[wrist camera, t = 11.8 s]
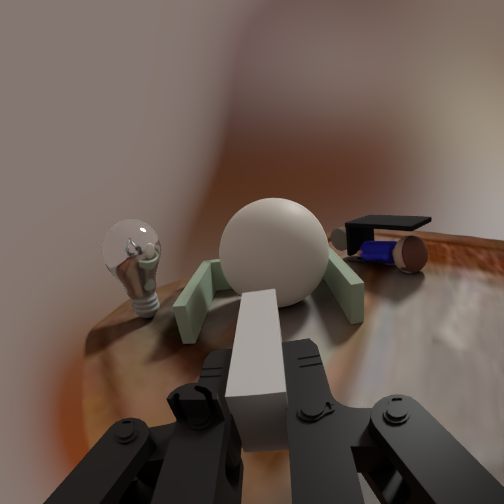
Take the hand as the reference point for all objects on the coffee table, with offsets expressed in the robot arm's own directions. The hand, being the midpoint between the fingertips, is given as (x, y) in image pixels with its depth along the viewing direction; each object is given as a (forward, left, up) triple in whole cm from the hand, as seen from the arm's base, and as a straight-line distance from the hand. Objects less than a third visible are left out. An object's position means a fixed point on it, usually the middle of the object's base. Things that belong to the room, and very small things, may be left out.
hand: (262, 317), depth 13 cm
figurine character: (+17, -24, -8) cm, 30 cm away
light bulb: (+20, +8, -8) cm, 23 cm away
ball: (+16, -7, -2) cm, 17 cm away
